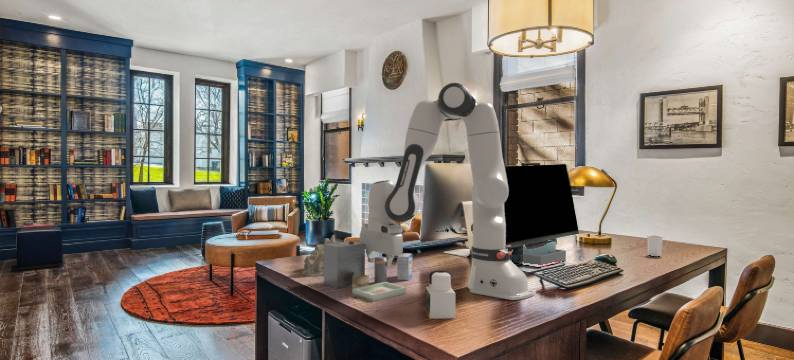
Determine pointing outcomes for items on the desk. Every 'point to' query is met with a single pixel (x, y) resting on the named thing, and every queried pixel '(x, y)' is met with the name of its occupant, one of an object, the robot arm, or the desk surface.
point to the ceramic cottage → (316, 260)
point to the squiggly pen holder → (541, 249)
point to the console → (343, 263)
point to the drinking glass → (654, 245)
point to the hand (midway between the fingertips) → (379, 264)
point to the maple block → (360, 281)
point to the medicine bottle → (440, 296)
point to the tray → (378, 291)
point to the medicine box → (404, 266)
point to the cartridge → (380, 270)
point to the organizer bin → (545, 258)
